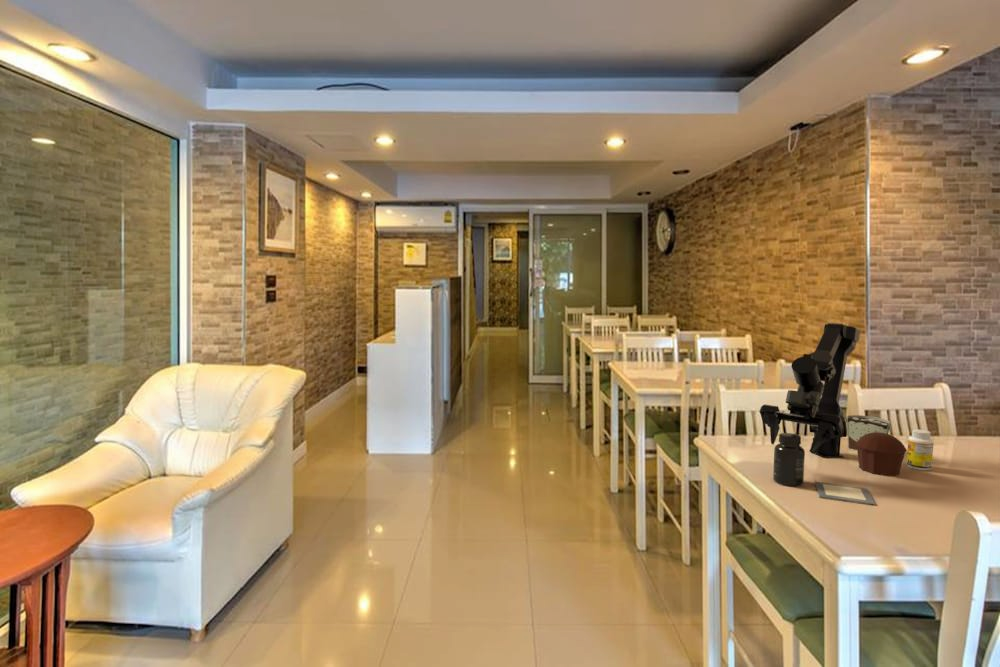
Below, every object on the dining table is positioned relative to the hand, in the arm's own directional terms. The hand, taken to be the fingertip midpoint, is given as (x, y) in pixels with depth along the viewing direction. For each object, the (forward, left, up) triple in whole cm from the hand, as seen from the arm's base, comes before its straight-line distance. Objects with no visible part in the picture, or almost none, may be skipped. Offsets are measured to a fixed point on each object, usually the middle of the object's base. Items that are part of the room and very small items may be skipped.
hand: (791, 447), depth 144 cm
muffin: (-30, -5, -9) cm, 32 cm away
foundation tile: (-7, +10, -9) cm, 15 cm away
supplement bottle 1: (+1, +1, -9) cm, 9 cm away
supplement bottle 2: (-43, -6, -9) cm, 44 cm away
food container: (-42, -22, -9) cm, 48 cm away
